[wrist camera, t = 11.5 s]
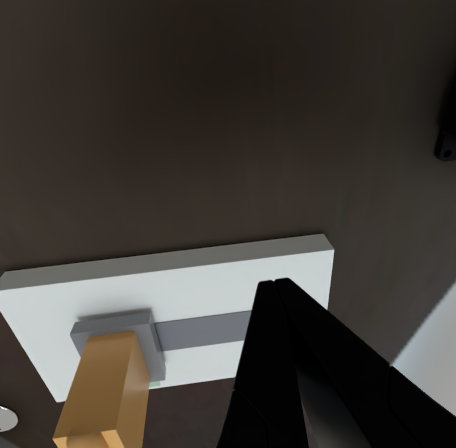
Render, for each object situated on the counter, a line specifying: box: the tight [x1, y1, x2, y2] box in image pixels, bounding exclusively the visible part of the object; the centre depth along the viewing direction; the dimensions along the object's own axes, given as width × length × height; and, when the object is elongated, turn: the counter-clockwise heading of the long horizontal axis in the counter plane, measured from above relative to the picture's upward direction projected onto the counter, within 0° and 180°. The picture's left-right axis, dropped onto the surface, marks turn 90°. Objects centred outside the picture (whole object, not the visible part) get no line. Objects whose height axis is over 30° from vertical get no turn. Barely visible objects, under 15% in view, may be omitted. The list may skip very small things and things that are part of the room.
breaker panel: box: [0, 234, 334, 402], centre depth 24 cm, size 22×12×2 cm, turn 94°
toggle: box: [53, 312, 166, 448], centre depth 19 cm, size 5×6×8 cm
